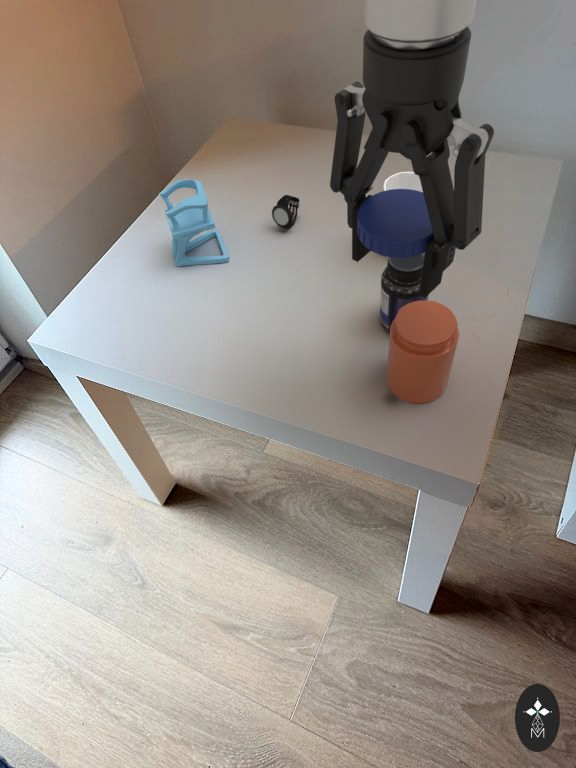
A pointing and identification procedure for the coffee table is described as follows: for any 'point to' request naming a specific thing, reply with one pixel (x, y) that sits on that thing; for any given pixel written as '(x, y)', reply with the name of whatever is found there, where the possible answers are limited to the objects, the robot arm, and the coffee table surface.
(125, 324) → the coffee table surface
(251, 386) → the coffee table surface
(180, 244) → the chair
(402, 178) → the cup
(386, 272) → the pill bottle
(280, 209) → the smartwatch
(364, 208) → the jar lid
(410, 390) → the jar
